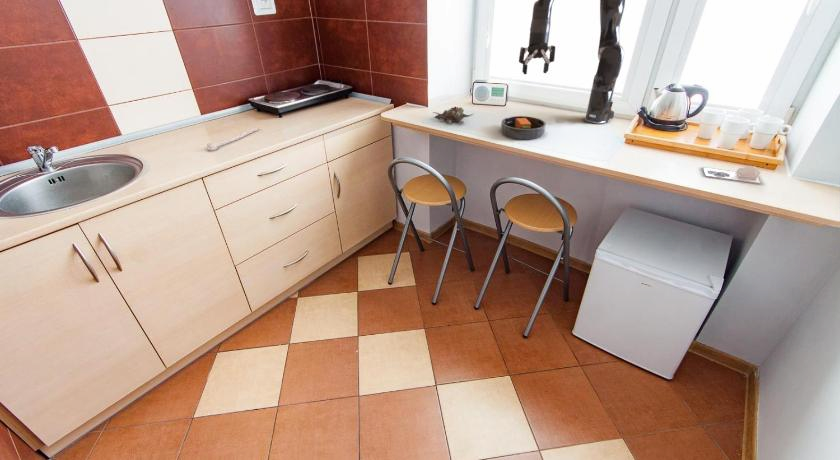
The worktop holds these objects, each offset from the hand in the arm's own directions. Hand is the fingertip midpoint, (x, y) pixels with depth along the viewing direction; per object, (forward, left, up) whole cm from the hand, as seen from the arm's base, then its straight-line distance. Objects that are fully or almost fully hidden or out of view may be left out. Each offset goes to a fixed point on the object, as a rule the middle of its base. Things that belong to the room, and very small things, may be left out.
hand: (534, 73), depth 163 cm
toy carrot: (+5, +7, -22) cm, 24 cm away
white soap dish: (-52, +57, -23) cm, 81 cm away
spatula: (+132, +1, -23) cm, 134 cm away
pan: (+5, +7, -23) cm, 25 cm away
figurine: (+33, -15, -23) cm, 43 cm away
